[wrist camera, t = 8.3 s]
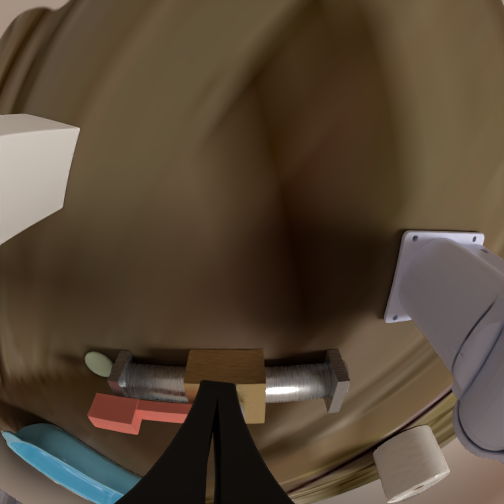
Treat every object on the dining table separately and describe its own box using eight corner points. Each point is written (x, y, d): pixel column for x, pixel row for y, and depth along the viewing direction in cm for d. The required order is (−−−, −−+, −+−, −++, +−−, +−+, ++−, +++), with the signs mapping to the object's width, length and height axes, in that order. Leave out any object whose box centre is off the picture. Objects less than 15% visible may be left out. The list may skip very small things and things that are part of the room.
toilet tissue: (422, 417, 30) (445, 468, 21) (435, 433, 34) (454, 473, 25) (362, 452, 33) (377, 503, 24) (386, 462, 37) (399, 503, 28)
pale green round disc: (109, 353, 22) (108, 355, 22) (119, 376, 24) (118, 378, 23) (81, 349, 22) (80, 351, 22) (92, 372, 23) (91, 374, 23)
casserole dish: (3, 412, 31) (-9, 436, 24) (37, 397, 27) (19, 432, 20) (132, 496, 44) (128, 518, 37) (199, 494, 40) (197, 523, 33)
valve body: (344, 343, 22) (357, 374, 19) (333, 384, 25) (342, 414, 21) (114, 344, 22) (99, 374, 18) (130, 385, 24) (120, 414, 21)
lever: (244, 398, 19) (244, 427, 16) (245, 417, 20) (246, 444, 18) (94, 387, 19) (84, 411, 16) (106, 407, 20) (97, 430, 17)
